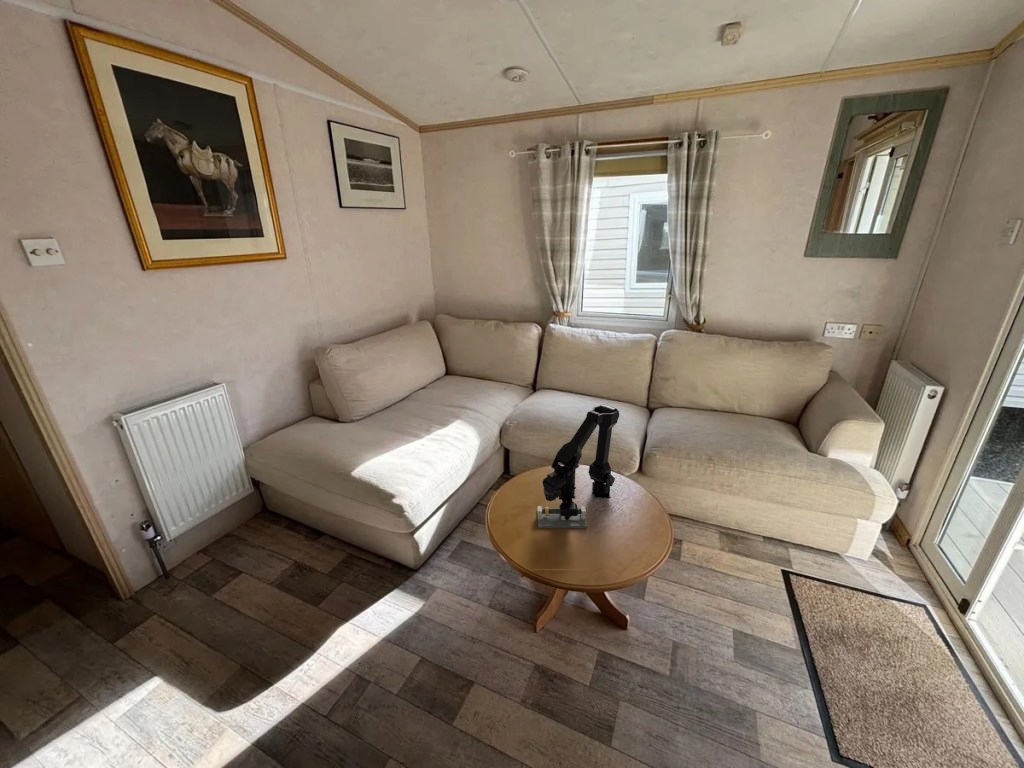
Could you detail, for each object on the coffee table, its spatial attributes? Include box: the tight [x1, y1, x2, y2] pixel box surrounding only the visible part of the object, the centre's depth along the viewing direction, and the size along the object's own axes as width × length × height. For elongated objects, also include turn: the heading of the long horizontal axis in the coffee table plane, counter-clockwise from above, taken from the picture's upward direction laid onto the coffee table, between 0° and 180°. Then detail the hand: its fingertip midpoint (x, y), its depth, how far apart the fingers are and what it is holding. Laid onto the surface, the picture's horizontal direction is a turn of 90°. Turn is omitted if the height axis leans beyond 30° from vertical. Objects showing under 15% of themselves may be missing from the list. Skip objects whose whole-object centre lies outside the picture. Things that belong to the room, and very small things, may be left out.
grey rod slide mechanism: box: [536, 505, 588, 529], centre depth 150 cm, size 18×10×5 cm, turn 88°
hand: (566, 515), depth 151 cm, fingers closed on sleeve, 4 cm apart
